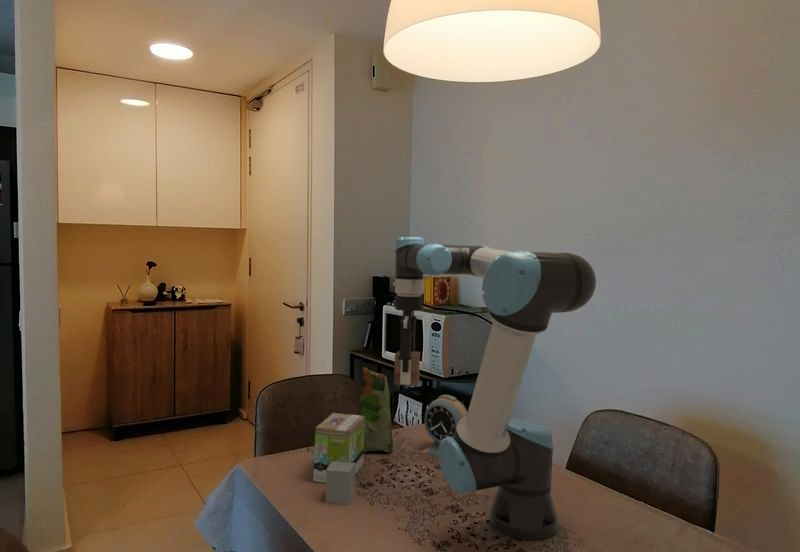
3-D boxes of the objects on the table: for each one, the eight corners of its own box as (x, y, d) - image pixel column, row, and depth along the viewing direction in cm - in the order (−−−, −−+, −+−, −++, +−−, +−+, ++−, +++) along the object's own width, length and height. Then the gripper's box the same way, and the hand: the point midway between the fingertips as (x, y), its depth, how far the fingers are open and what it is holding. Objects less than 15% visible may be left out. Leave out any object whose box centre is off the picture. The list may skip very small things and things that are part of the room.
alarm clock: (417, 451, 173) (419, 394, 173) (435, 443, 181) (436, 388, 180) (457, 463, 165) (459, 403, 164) (474, 453, 173) (476, 396, 172)
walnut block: (416, 386, 148) (417, 355, 148) (394, 384, 149) (394, 354, 148) (419, 381, 154) (419, 351, 153) (397, 379, 155) (398, 350, 154)
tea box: (349, 486, 147) (350, 430, 146) (312, 482, 149) (313, 427, 148) (364, 465, 161) (365, 414, 161) (330, 461, 163) (331, 411, 163)
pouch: (387, 458, 167) (389, 374, 166) (349, 453, 170) (351, 371, 169) (397, 446, 178) (399, 367, 177) (361, 441, 181) (363, 364, 180)
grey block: (349, 504, 136) (350, 472, 136) (325, 502, 137) (325, 470, 137) (354, 494, 142) (355, 462, 142) (331, 492, 143) (332, 461, 143)
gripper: (399, 292, 160) (398, 373, 161) (389, 297, 141) (387, 388, 142) (426, 293, 159) (424, 374, 160) (419, 298, 140) (417, 390, 141)
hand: (407, 381), depth 151 cm, fingers closed on walnut block, 6 cm apart
